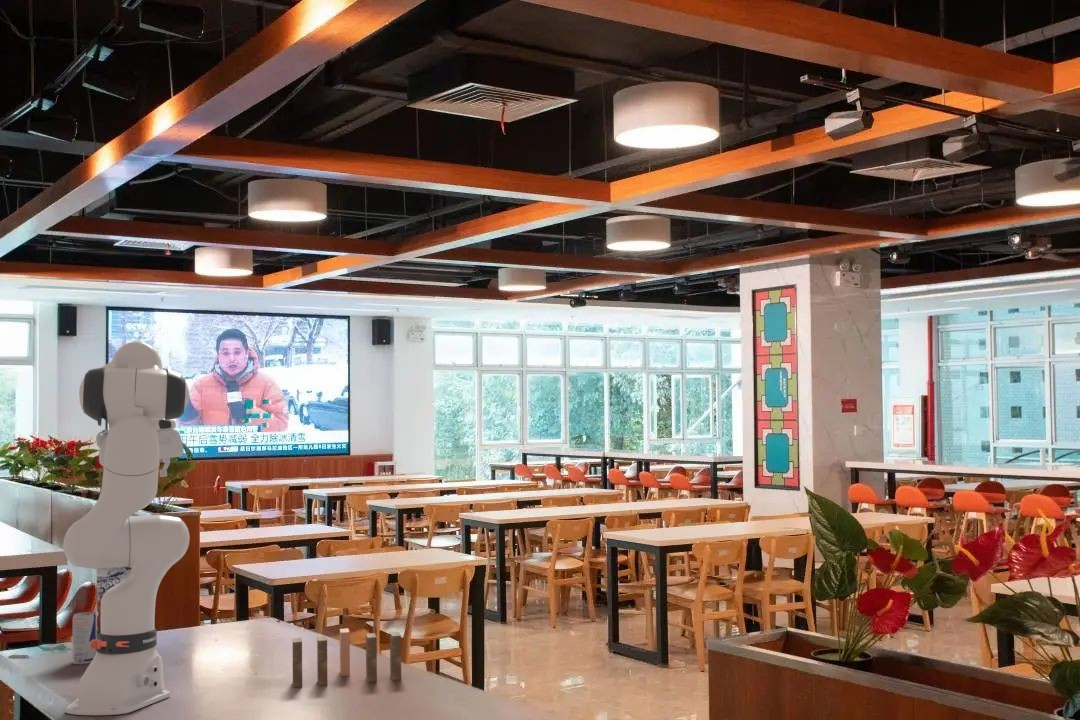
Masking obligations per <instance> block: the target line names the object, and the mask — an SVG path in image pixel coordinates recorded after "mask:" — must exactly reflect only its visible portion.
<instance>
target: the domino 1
mask: <svg viewBox="0 0 1080 720" xmlns="http://www.w3.org/2000/svg"><path fill="white" fill-rule="evenodd" d="M302 639H303V638H302V637H294V638H292V642H291V643H292V688H293V689H296V688H297V689H298V688H303V640H302Z"/></svg>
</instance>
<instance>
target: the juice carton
mask: <svg viewBox="0 0 1080 720" xmlns="http://www.w3.org/2000/svg"><path fill="white" fill-rule="evenodd" d="M131 570H132V568H131V567H117V568H103V569H96V640H97V639H98V635H99V633H100V632H101V599H102V597H103V595H104V593H105V592H106V591H107V590H109V589H110V588H111V587H113V586H115V585H116V584H118V583H120V582H122V581H124V580H125V579H127V578H128V577H129V575H130V573H131Z"/></svg>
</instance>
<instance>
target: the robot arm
mask: <svg viewBox="0 0 1080 720" xmlns="http://www.w3.org/2000/svg"><path fill="white" fill-rule="evenodd" d="M78 393H79V395H78V396H79V404H80V407H81V410H82V412H83V413H84V414H85V415H86V416H87V417H89V418H91V419H92V420H94V421H96V422H97V426H100V427H102V419H103V420H105V421H106V422H107V423H108V429H102V430H101V431H100V432H98V433H97V434H96V438H95V440H96V445H97V447H98V448H99V451H98V454H99V455H98V458H99V459H98V461H99V464H100V465H101V466H102V467H103V472H102V473H103V474H102V484H101V488H100V489H101V490H100V494H99V497H98V498H97V501H96V503H95V504H94V505H93V507H92V508H91V509H90V510H89V511H88V513H86V514H85V515H84V516H82V517H81V518H79V519H78V520H77V521H75V522H73V523H72V524H71V525H70V526H69V528H68V529H67V531H66V533H65V534H64V537H63V547H62V548H63V553H64V556H65V558H66V559H67V560H68V562H69V563H70V564H71V565H72V566H73V567H77V568H84V569H94V570H97V569H103V568H117V567H131V568H132V570H131V573H130V575H129V577H128V578H127V579H125V580H124V581H122V582H120V583H118V584H116V585H115V586H113V587H111V588H110V589H109V590H107V591H106V592H105V593H104V595H103V597H102V599H101V632H100V633H99V635H98V639H97V638H96V639H92V640H91V641H92V642H91V643H90V647H92V648H91V649H96V655H95V657H94V658H93V660H92V662H91V663H90V664H88V666H87V668H86V670H85V672H84V673H83V675H82V676H81V678H80V680H79V682H78V687H77V688H78V689H77V698H76V699H75V700H74V701H73V702H71V703H70V704H69V705H68V706H66V707H65V709H64V710H65V714H66V713H67V714H69V715H78V716H112V715H123V714H124V715H125V714H129V713H132V712H134V711H137V710H139V709H141V708H144V707H147V706H149V705H151V704H155V703H157V702H160V701H162V700H165V699H168V698H170V697H171V695H170V693H171V692H170V691H169V690H167V689H166V688H165V680H164V679H165V678H164V666H163V657H162V656H161V655H160V654H159V653H158V651H157V648H156V646H157V644H158V634H157V633H158V632H157V629H156V628H155V614H156V609H155V608H156V601H157V600H156V599H157V594H158V589H159V586H160V584H161V582H162V580H163V578H164V576H165V575H166V574H167V572H168V571H169V569H171V568H172V567H173V566H174V565H175V564H176V563H177V562H178V561H180V560H181V559H182V558H183V557H184V556H185V554H186V552H187V551H188V548H189V545H190V531H189V528H188V526H187V524H186V523H185V521H184V520H182V518H180V517H177V516H172V515H171V516H170V515H164V514H144V515H143V514H142V515H141V514H140V515H135V513H137V512H139V511H141V510H143V509H145V508H146V507H147V506H149V505H150V504H151V503H152V502H153V500H154V499H155V498H156V497H157V494H158V483H159V477H160V478H163V477H168V471H167V470H168V468H169V466H170V464H171V459H172V458H177V457H179V458H180V457H182V456H183V454H184V446H183V445H184V444H183V441H182V437H181V434H180V432H179V431H178V430H177V429H175V428H176V426H177V423H176V421H175V419H179V418H181V416H183V415H184V414H185V413H184V412H185V410H186V409H187V407H188V404H189V401H190V389H189V386H188V383H187V382H186V378H185V377H184V376H183V375H182V374H181V373H180V372H177V371H174V370H172V367H171V366H167V368H165V367H164V368H163V363H162V360H161V356H160V354H159V353H158V352H157V350H156V349H155V348H154V347H153V346H151V345H150V344H148V343H146V342H144V341H129V342H127V343H125V344H124V345H122V346H120V348H119V349H118V350H117V351H116V352H115V353H114V355H113V357H112V360H111V361H110V362H108V363H107V364H105V365H103V366H101V367H97V368H92V369H88V371H87V372H85V375H84V377H83V379H82V380H81V382H80V386H79V392H78ZM160 460H162V463H164V465H163V467H162V469H159V467H160ZM133 514H134V515H133Z"/></svg>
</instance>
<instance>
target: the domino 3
mask: <svg viewBox="0 0 1080 720" xmlns="http://www.w3.org/2000/svg"><path fill="white" fill-rule="evenodd" d="M350 638H351V635H350V629H349V628H348V627H346V628H339V673H340V677H350V675H351V656H350V655H351V645H350V642H351V640H350Z"/></svg>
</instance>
